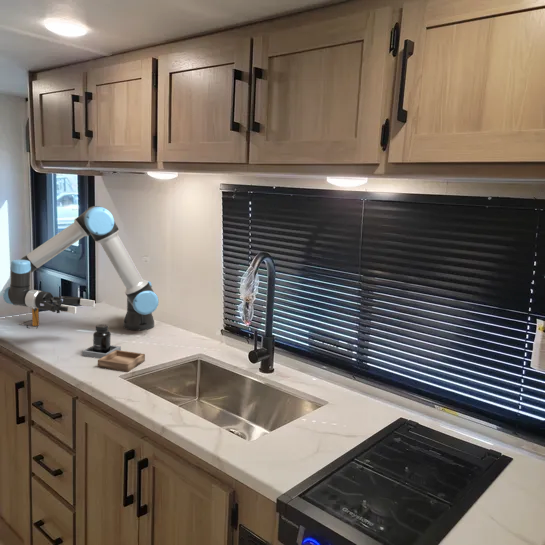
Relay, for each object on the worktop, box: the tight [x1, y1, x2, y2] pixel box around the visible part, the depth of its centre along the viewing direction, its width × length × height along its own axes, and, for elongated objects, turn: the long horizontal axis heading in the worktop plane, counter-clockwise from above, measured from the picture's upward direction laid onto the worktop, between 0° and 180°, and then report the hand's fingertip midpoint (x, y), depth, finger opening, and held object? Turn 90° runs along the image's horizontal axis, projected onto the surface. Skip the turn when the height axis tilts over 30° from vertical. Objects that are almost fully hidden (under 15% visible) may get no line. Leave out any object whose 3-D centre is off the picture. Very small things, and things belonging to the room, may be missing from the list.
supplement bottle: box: [92, 323, 112, 353], centre depth 204 cm, size 7×7×12 cm
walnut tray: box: [97, 350, 146, 373], centre depth 194 cm, size 13×13×3 cm
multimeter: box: [18, 283, 40, 329], centre depth 237 cm, size 15×10×20 cm
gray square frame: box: [81, 344, 122, 359], centre depth 205 cm, size 11×11×2 cm
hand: (85, 307), depth 204 cm, fingers open, 13 cm apart
